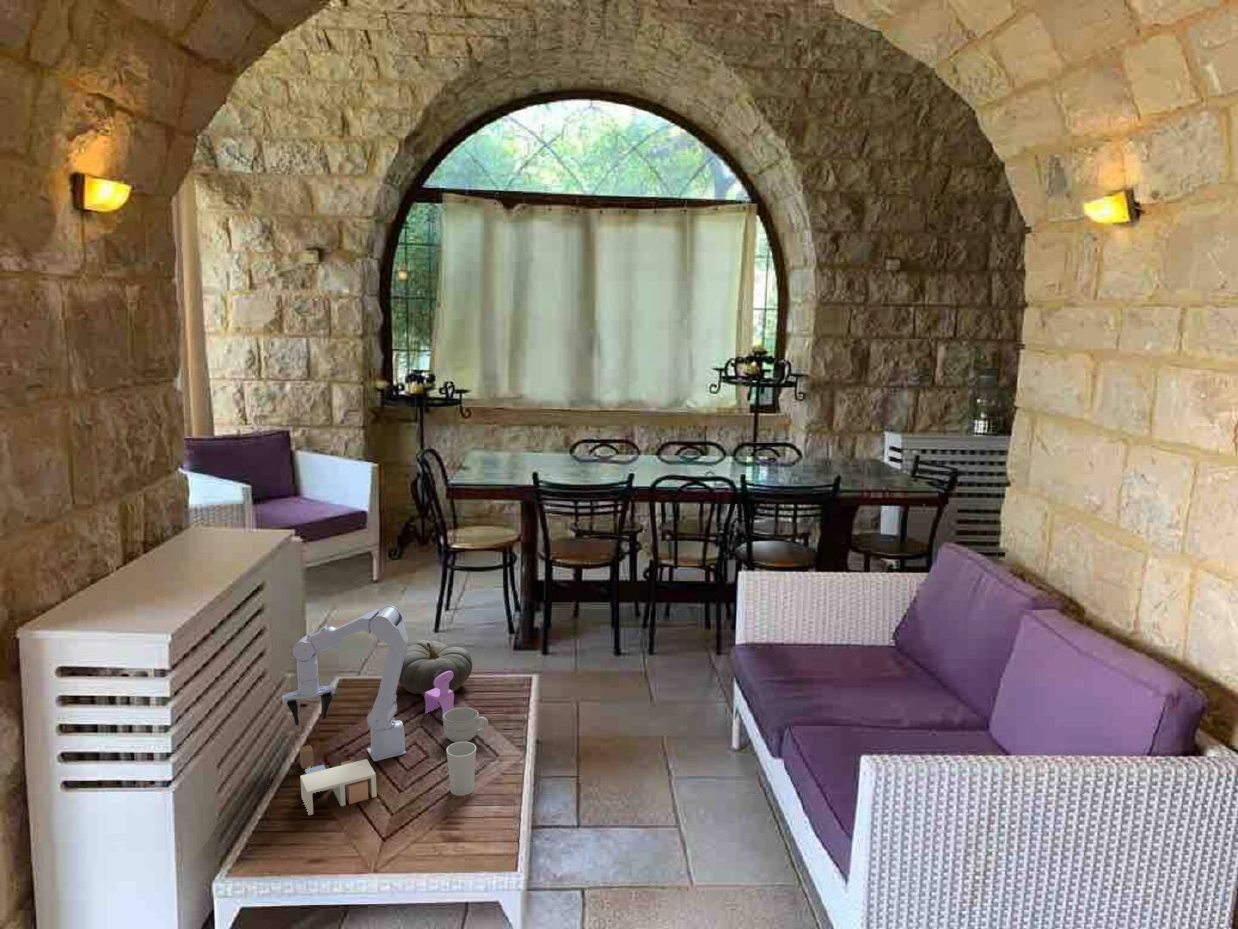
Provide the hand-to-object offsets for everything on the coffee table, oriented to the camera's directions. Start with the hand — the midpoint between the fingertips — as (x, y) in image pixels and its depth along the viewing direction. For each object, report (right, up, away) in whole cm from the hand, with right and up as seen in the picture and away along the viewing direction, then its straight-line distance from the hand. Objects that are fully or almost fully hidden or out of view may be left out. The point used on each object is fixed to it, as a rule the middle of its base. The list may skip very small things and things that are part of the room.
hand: (310, 720), depth 253 cm
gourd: (+28, -2, +44) cm, 52 cm away
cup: (+48, -14, -18) cm, 53 cm away
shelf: (+16, -14, -23) cm, 31 cm away
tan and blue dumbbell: (+5, -12, -13) cm, 19 cm away
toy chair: (+33, -6, +26) cm, 42 cm away
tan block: (+18, -13, -19) cm, 30 cm away
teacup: (+44, -9, +10) cm, 46 cm away
